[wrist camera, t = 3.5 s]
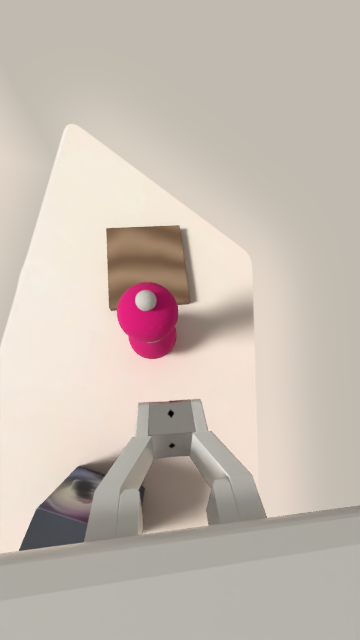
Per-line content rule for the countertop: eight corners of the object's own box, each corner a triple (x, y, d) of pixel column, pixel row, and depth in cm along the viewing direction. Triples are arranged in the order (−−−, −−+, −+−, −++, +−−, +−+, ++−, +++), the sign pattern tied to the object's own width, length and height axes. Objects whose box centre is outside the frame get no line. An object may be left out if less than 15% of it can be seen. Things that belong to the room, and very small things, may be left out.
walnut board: (188, 304, 38) (190, 301, 37) (111, 310, 36) (109, 307, 35) (178, 230, 42) (179, 225, 41) (108, 233, 41) (106, 228, 39)
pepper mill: (181, 330, 37) (202, 278, 17) (163, 368, 35) (166, 356, 15) (144, 313, 37) (126, 244, 18) (125, 350, 35) (80, 316, 16)
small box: (147, 484, 30) (139, 537, 20) (131, 538, 28) (114, 627, 18) (77, 462, 30) (35, 505, 20) (57, 515, 28) (0, 592, 18)
